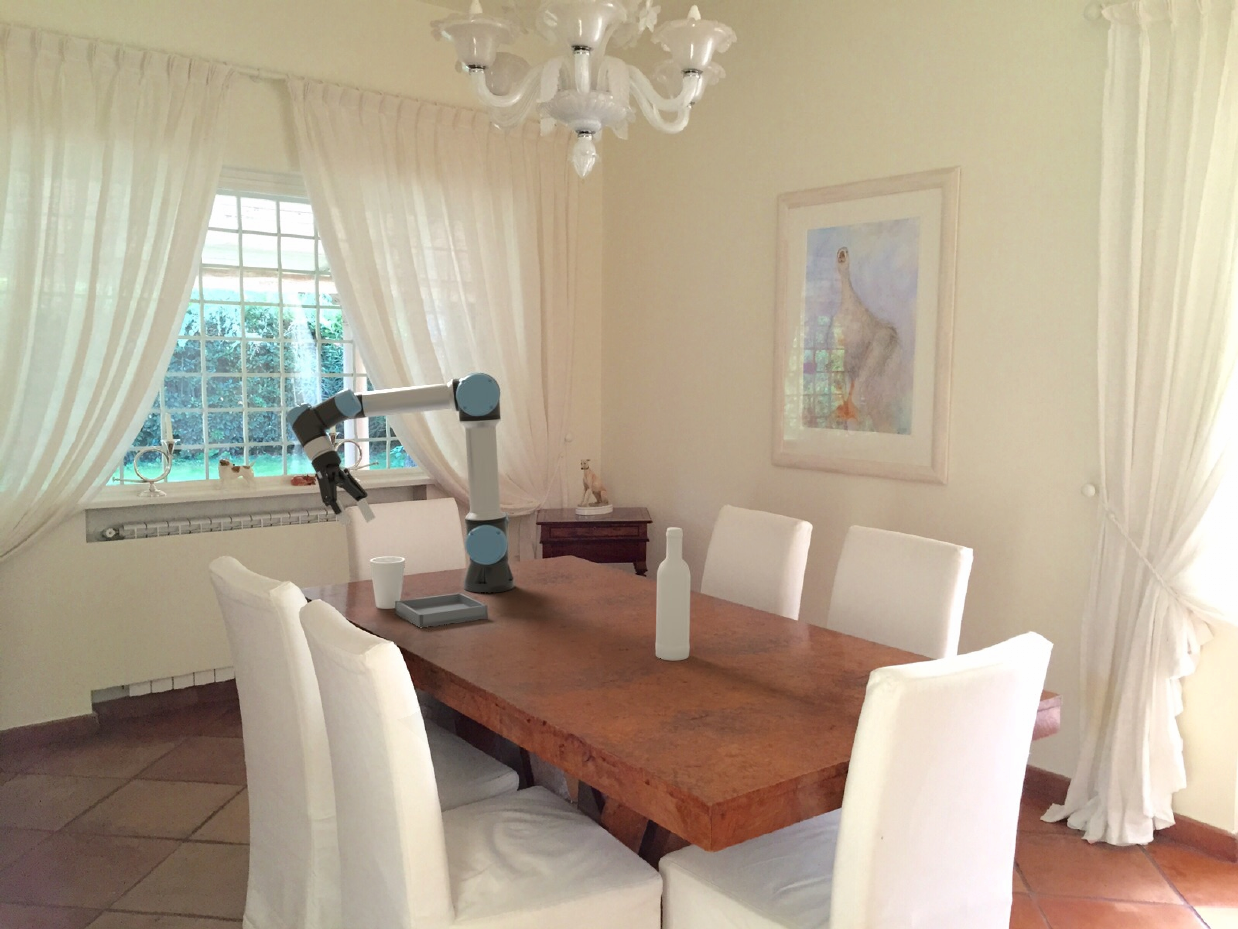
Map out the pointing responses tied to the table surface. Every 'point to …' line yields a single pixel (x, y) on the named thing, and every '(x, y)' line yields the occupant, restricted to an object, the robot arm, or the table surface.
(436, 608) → the tray
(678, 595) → the bottle
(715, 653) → the table surface
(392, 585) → the foam cup
